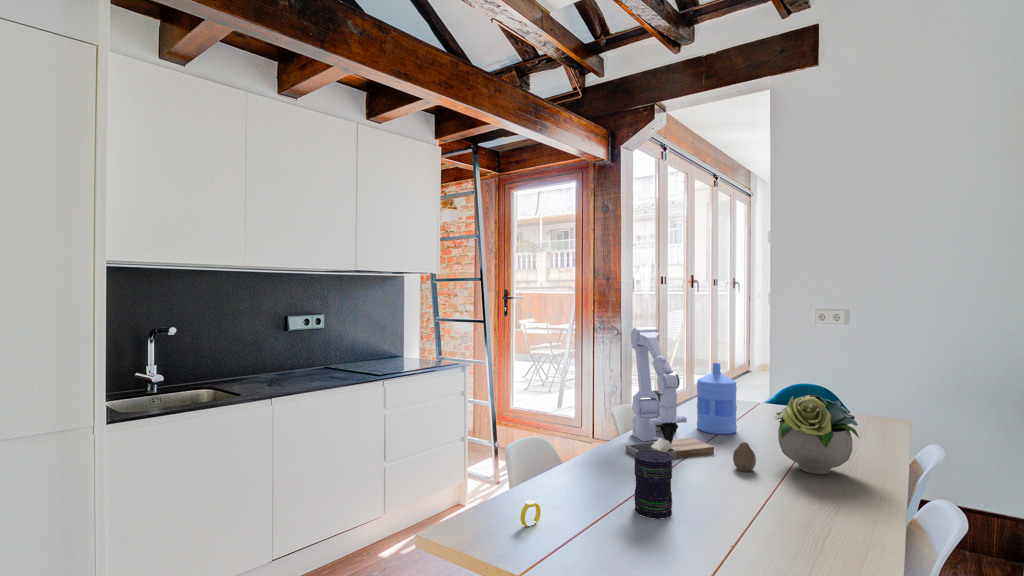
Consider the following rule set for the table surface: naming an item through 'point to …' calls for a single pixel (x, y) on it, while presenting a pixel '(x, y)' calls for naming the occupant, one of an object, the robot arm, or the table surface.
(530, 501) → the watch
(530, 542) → the table surface
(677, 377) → the robot arm
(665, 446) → the white square block
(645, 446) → the box
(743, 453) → the brown oval piece
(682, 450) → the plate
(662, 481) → the storage jar
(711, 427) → the water jug
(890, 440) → the table surface
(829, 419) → the flower arrangement
